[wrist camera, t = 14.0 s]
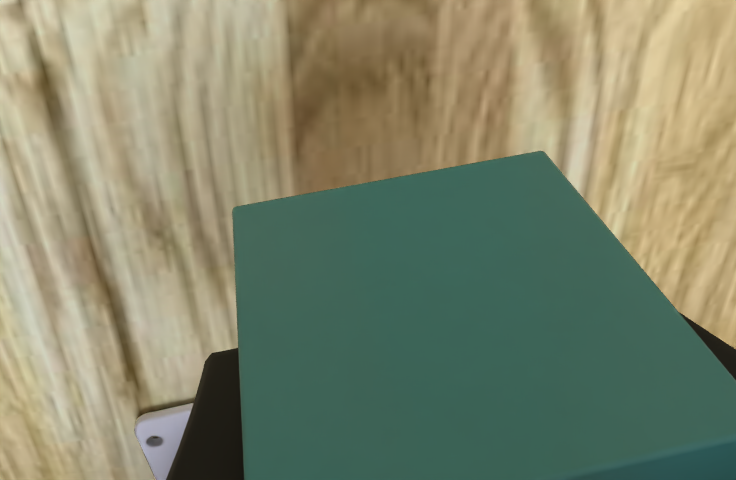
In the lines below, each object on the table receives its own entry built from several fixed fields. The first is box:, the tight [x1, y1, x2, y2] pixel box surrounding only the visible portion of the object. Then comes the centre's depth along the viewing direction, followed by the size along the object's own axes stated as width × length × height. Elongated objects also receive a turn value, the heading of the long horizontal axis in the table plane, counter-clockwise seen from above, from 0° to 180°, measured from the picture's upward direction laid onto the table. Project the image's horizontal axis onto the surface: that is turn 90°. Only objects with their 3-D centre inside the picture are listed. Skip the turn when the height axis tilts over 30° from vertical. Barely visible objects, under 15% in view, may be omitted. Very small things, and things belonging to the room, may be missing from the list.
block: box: [232, 151, 736, 480], centre depth 9 cm, size 4×4×5 cm
